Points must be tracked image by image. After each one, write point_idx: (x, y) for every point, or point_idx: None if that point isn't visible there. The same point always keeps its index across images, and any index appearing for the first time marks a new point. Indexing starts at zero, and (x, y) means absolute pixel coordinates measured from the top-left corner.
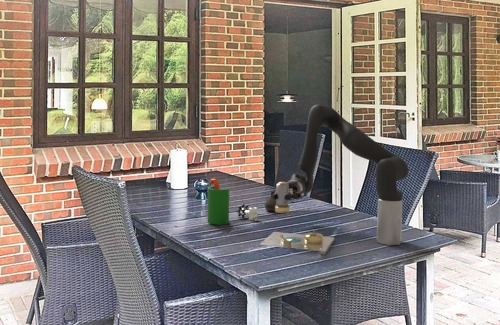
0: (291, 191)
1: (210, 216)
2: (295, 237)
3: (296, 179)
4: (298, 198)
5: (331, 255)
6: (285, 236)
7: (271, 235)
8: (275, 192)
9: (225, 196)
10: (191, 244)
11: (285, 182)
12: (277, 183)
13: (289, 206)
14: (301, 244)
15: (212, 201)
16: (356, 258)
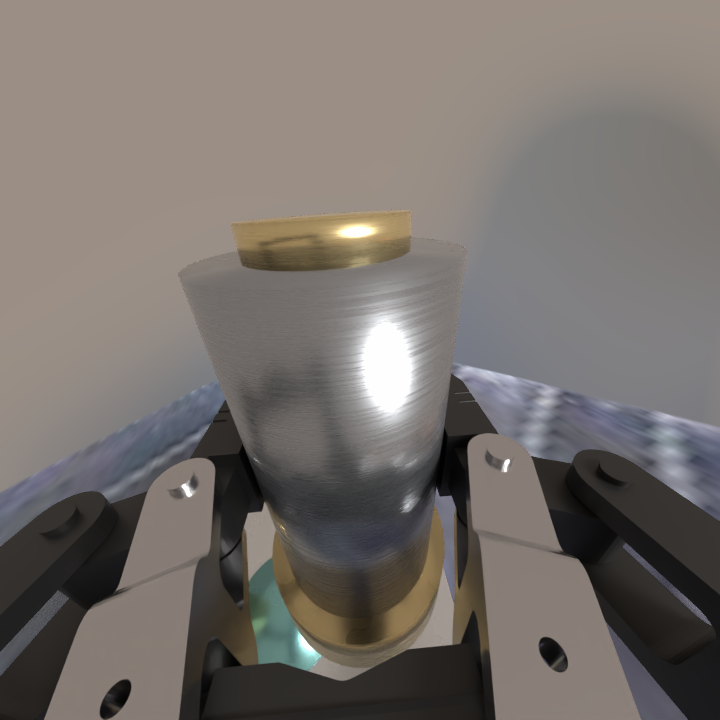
0: (147, 578)
1: None
2: (277, 660)
3: None
4: (69, 615)
5: (141, 487)
6: (353, 669)
7: (451, 644)
8: (490, 433)
9: None
10: (617, 410)
11: (255, 220)
12: (446, 246)
13: (277, 551)
14: (244, 525)
15: None
16: (54, 492)
